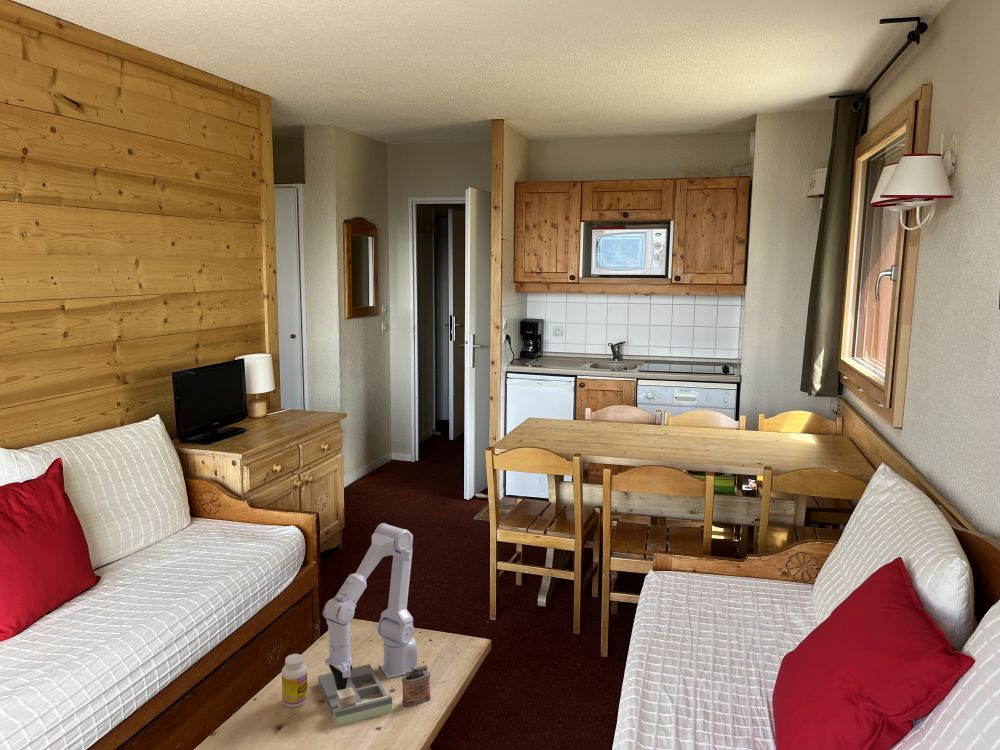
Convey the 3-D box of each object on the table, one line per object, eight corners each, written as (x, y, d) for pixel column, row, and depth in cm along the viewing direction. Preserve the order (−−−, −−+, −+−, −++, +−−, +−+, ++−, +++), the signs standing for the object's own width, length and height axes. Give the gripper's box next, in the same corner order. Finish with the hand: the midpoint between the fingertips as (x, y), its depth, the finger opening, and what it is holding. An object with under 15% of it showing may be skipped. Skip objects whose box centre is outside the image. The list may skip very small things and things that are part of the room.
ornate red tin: (404, 708, 204) (404, 674, 202) (400, 702, 207) (399, 668, 205) (432, 700, 208) (432, 666, 206) (427, 694, 210) (427, 661, 209)
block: (352, 701, 203) (351, 687, 202) (355, 708, 199) (355, 694, 199) (337, 704, 201) (336, 690, 201) (340, 712, 198) (340, 698, 197)
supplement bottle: (298, 710, 203) (297, 668, 200) (277, 704, 205) (276, 663, 202) (312, 695, 209) (311, 654, 206) (291, 690, 211) (290, 649, 208)
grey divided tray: (369, 671, 222) (369, 659, 221) (392, 712, 202) (392, 698, 202) (318, 683, 216) (318, 670, 215) (336, 726, 196) (336, 712, 195)
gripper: (319, 633, 209) (320, 679, 211) (331, 658, 196) (332, 706, 198) (344, 628, 212) (345, 673, 214) (357, 652, 199) (359, 700, 201)
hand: (341, 689), depth 206 cm, fingers closed
